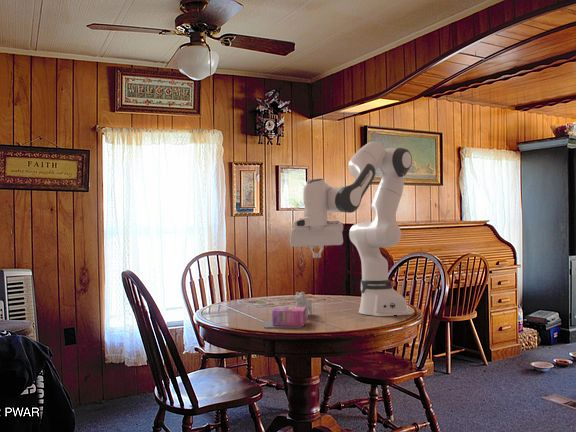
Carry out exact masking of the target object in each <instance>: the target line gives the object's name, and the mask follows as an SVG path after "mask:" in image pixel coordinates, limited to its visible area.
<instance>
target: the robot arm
mask: <svg viewBox="0 0 576 432" xmlns="http://www.w3.org/2000/svg"><path fill="white" fill-rule="evenodd" d="M412 157H413V156H412V154H411V151H410V150H408V149H406V148H405V147H398V148H397V147H386V148H385V147H384V146H383V144H382V143H380V142H378V141H376V140H375V141H373V140H372V141H369V142H367V143H366V144H365V145H363V146H362V147H361V148H359V149H358V150H357V151H356V152H355V153H353V156H351V158H350V160H349V161H348V166H347V167H348V170H349V173H350V175H351V176H352V177H353V178H354V180H353V182H352V183H351V184H348V185H345V186H339V187H332V186H330V185H329V184H328V183H327V182H326V181H325V179H324V178H314V179H309V180H307V181H306V182H305V183H304V186H303V197H302V198H303V199H302V201H303V205H304V212H303V217H300V218H299V219H295V220H293V221H292V228H291V230H290V234H289V235H290V236H289V246H291V247H309V250H310V252H311V253H312V259H317V258H318V259H321V258H322V252H323V250H324V247H325V246H342V245H343V243H344V238H343V231H344V224H343V222H341V221H339V220H328V213H351V214H352V213H354V212H356V211H357V210H358V209H359V207H360V205H361V202H362V199H363V197H364V195H365V194H366V192H367V191H368V189H369V188H370V186H371V184H372V182H373V181H374V180H375V179H374V178H375V176H376V174H380V175H381V180H380V182H379V184H378V185H377V189H376V191H375V194H374V196H373V199H372V202H371V204H370V205H371V210H372V212H373V213H374V220H373V221H360V222H358V223H354V224H353V225H352V226H351V227H350V229H349V233H348V236H349V237H348V238H349V240H350V242H351V243H352V244H353V245H354V246H355V248H356V250H357V252H358V255H359V257H360V261H361V280H360V292H361V298H360V305H359V309H358V313H359V314H361V315H367V316H368V315H369V316H375V317H393V316H394V315H397V316H411V315H413V313H414V312H413V310H412V309H410V308H408V305H407V303H408V302H407V299H406V298H405V297H404V296H403V295H401V294H400V293H399V292H398V291H396V290H395V289H394V288H393V287H395V286H396V281H394V280H390V279H389V263H388V262H389V261H388V260H387V258H385V256H383V255H382V253H381V250H380V248H385V249H386V248H391V247H394V246H396V245H398V244H399V242H400V241H401V238H402V230H401V227H400V226H399V225H398V224H397V220H396V219H397V218H396V217H397V211H398V207H399V204H400V201H401V199H402V196H403V190H404V187H405V186H404V185H405V178H404V177H405V176H406V175H407V174H408V172H409V170H410V168H411V166H412V164H413V158H412ZM315 247H318V248H319V251H318V252H315V251H314V249H315ZM394 317H395V316H394Z"/></svg>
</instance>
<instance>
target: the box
mask: <svg viewBox="0 0 576 432" xmlns="http://www.w3.org/2000/svg"><path fill="white" fill-rule="evenodd" d="M271 311H272V314H271V315H272V318H271V319H272V320H271V321H272V323H273V325H282V326H302V327H304V325H305V324H306V322H307V321H308V318H307V307H296V306H280V305H279V306H276V307H275V308H274V309H273V310H271Z"/></svg>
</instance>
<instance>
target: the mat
mask: <svg viewBox="0 0 576 432" xmlns="http://www.w3.org/2000/svg"><path fill="white" fill-rule="evenodd" d="M298 328H299V329H301V328H303V326H282V325H273V323H272V320H265V321H264V329H298Z"/></svg>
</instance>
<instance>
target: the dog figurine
mask: <svg viewBox="0 0 576 432" xmlns="http://www.w3.org/2000/svg"><path fill="white" fill-rule="evenodd" d="M294 301H295V307H307V319H308V318H309V316H312V315H313V303H312V300H311V299H310V298H308V296H306V294H305V291H301V292H299V291H297V292H295V300H294ZM308 315H309V316H308Z"/></svg>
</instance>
